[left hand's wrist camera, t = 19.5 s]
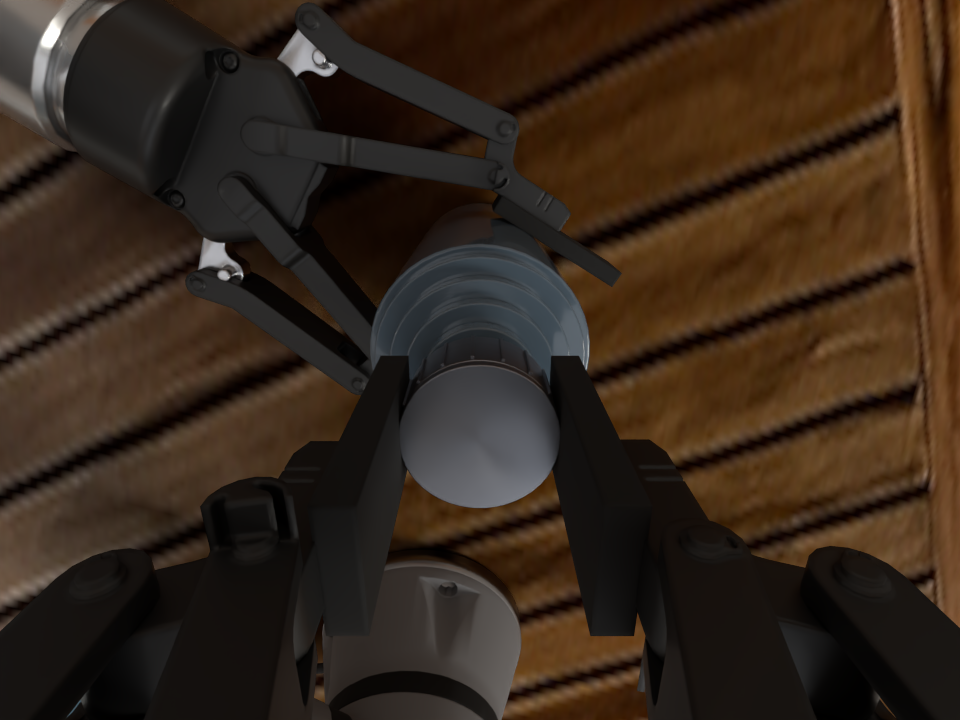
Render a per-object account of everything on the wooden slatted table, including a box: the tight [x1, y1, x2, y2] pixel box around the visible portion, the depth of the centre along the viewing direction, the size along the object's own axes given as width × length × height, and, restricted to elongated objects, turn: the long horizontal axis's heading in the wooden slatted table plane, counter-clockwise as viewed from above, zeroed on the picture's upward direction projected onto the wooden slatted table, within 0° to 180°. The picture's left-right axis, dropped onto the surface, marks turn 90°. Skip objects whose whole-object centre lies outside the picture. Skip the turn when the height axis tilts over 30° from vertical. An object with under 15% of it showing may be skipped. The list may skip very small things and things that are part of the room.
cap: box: [399, 336, 560, 508], centre depth 14 cm, size 4×4×2 cm
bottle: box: [370, 203, 590, 385], centre depth 23 cm, size 8×8×20 cm
